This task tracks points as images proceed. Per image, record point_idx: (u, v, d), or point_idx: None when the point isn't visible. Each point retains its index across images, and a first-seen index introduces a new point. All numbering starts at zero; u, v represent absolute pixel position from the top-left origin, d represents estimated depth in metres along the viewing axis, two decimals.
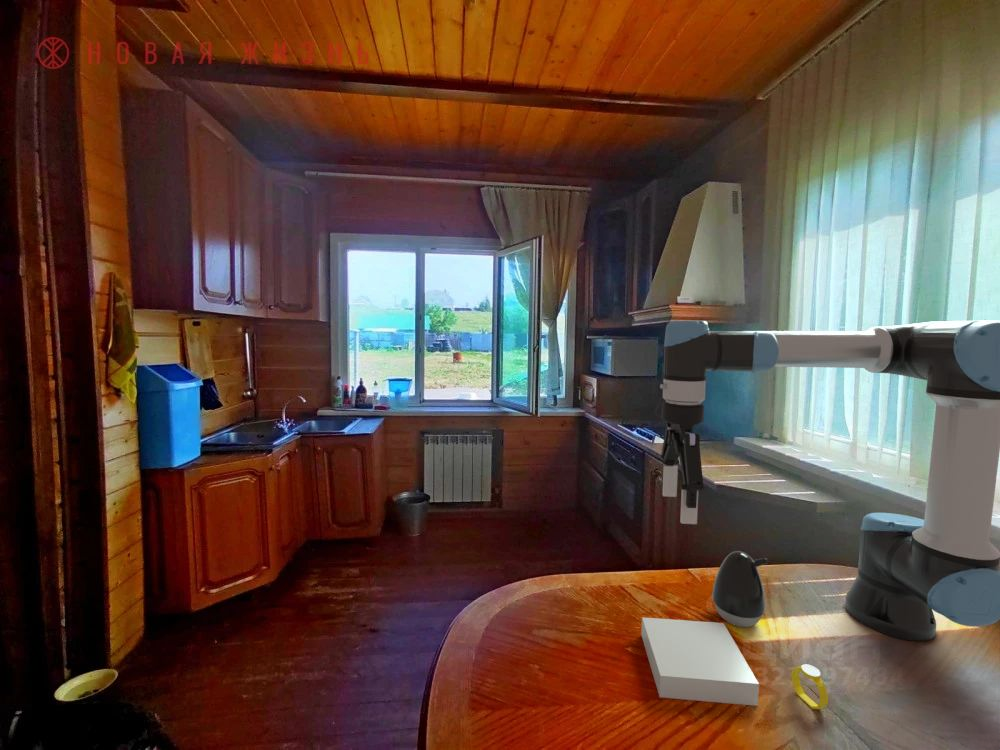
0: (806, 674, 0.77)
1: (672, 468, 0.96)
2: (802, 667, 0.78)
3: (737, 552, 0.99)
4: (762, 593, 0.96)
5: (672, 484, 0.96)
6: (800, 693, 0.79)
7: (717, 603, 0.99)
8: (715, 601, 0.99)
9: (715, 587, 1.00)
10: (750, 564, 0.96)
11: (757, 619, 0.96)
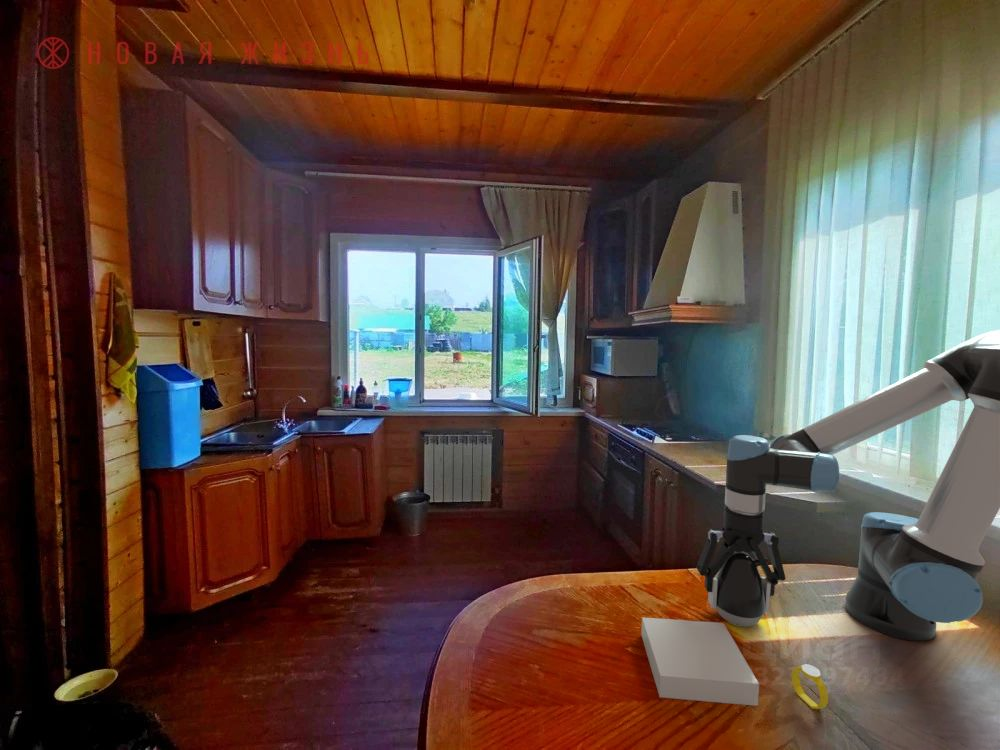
0: (806, 674, 0.77)
1: (764, 582, 0.98)
2: (802, 667, 0.78)
3: (737, 552, 0.99)
4: (762, 593, 0.96)
5: None
6: (800, 693, 0.79)
7: (717, 603, 0.99)
8: None
9: None
10: (750, 564, 0.96)
11: (757, 619, 0.96)
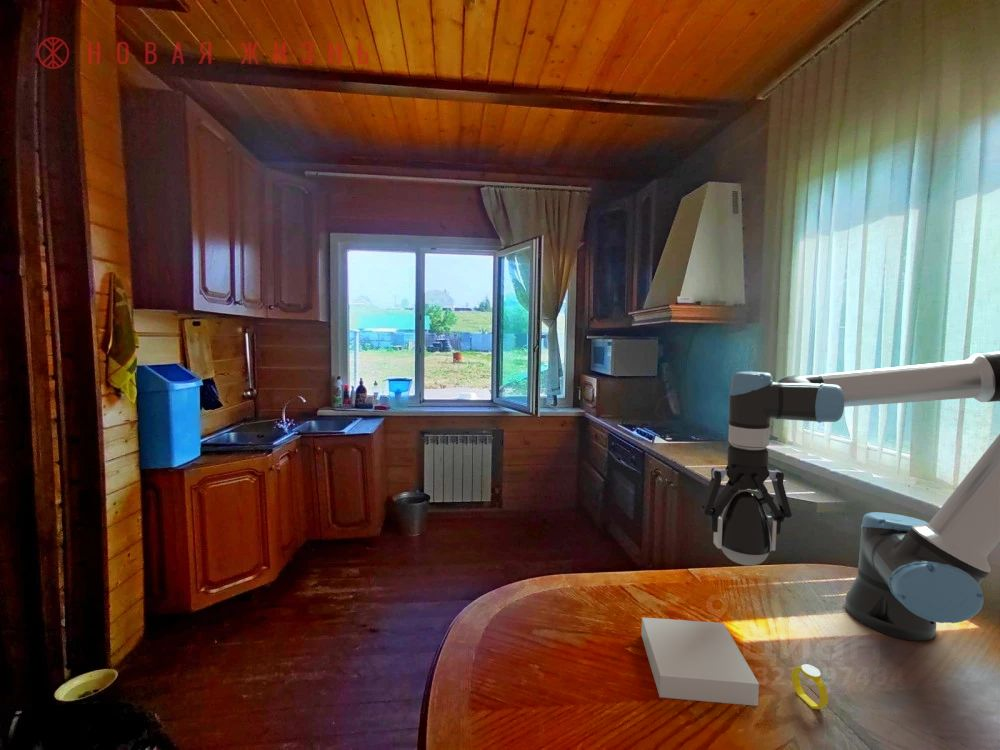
0: (806, 674, 0.77)
1: (770, 520, 0.97)
2: (802, 667, 0.78)
3: (742, 491, 0.97)
4: (768, 530, 0.94)
5: None
6: (800, 693, 0.79)
7: (723, 543, 0.97)
8: None
9: None
10: (755, 501, 0.95)
11: (764, 556, 0.94)
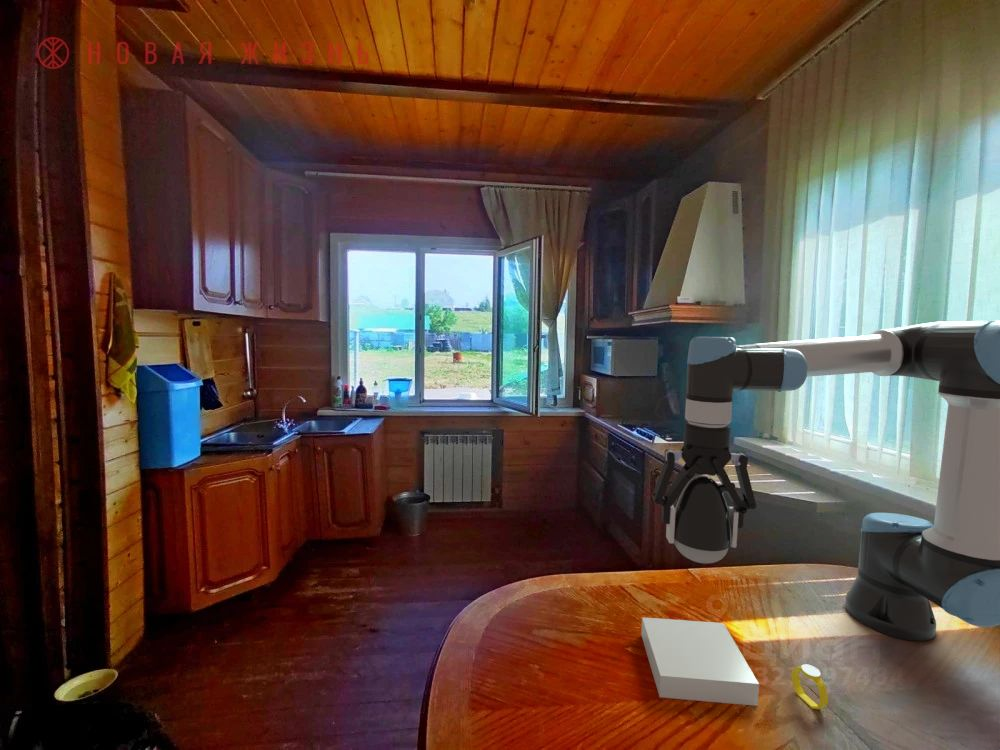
0: (806, 674, 0.77)
1: (731, 512, 0.83)
2: (802, 667, 0.78)
3: (699, 476, 0.83)
4: (728, 522, 0.80)
5: None
6: (800, 693, 0.79)
7: (675, 536, 0.83)
8: None
9: None
10: (713, 488, 0.81)
11: (721, 553, 0.80)
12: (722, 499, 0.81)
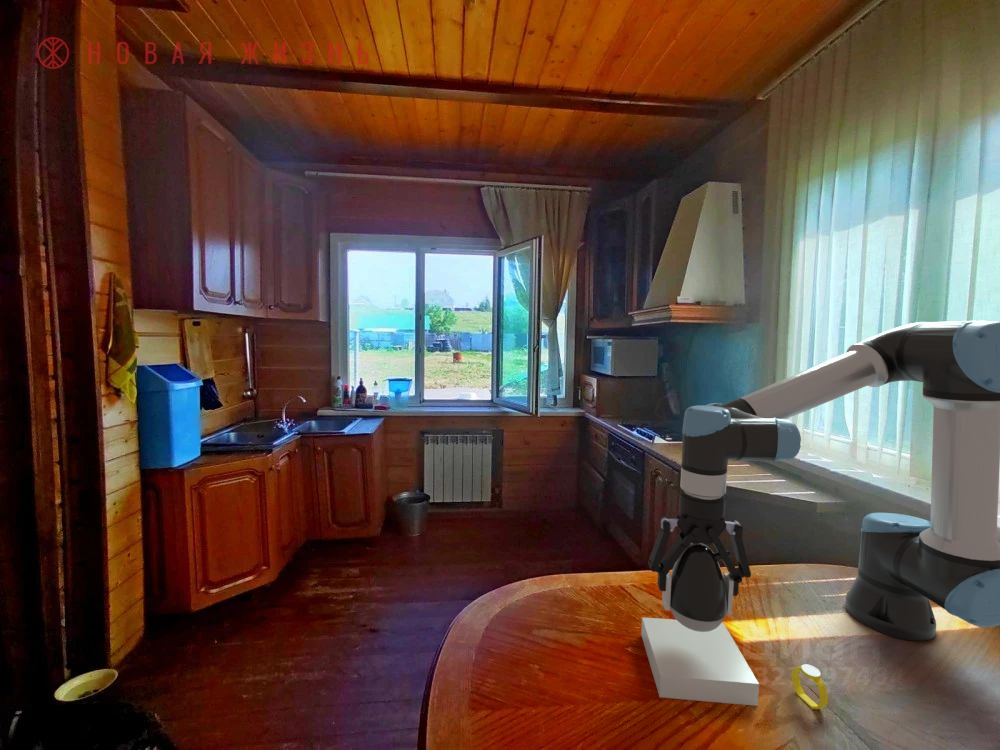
0: (806, 674, 0.77)
1: (727, 580, 0.83)
2: (802, 667, 0.78)
3: None
4: (723, 592, 0.81)
5: None
6: (800, 693, 0.79)
7: (671, 604, 0.84)
8: None
9: None
10: (709, 557, 0.81)
11: (717, 623, 0.81)
12: (717, 568, 0.81)
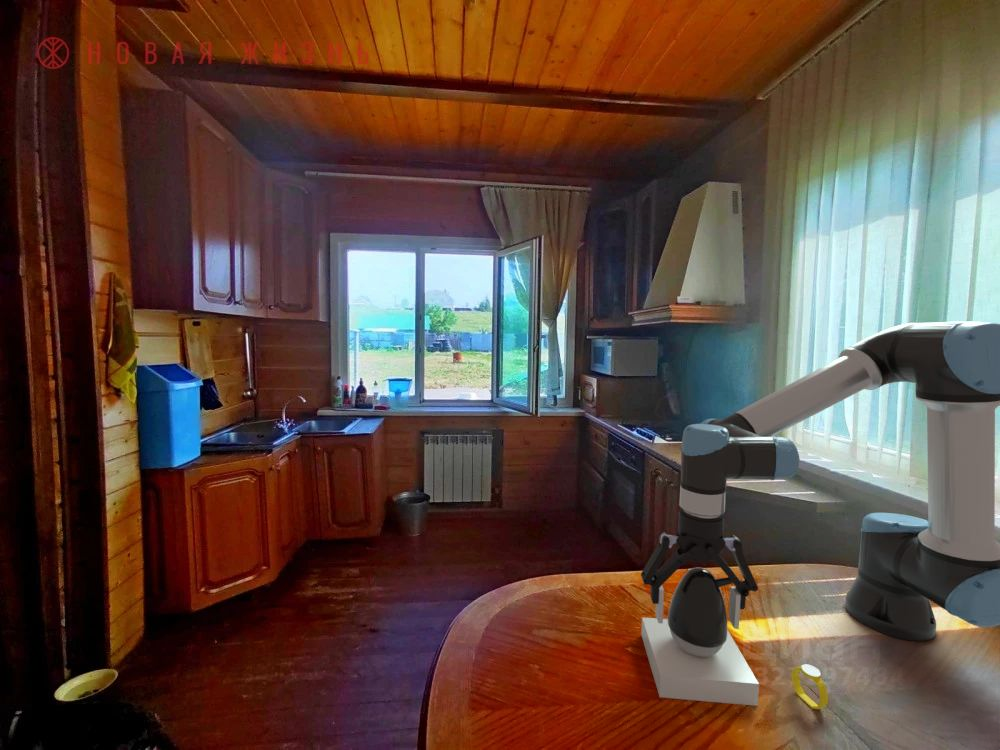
0: (806, 674, 0.77)
1: (733, 593, 0.83)
2: (802, 667, 0.78)
3: (698, 569, 0.84)
4: (724, 618, 0.81)
5: (733, 611, 0.84)
6: (800, 693, 0.79)
7: (671, 627, 0.84)
8: (670, 625, 0.85)
9: (671, 608, 0.85)
10: (711, 583, 0.82)
11: (717, 649, 0.81)
12: (719, 595, 0.82)
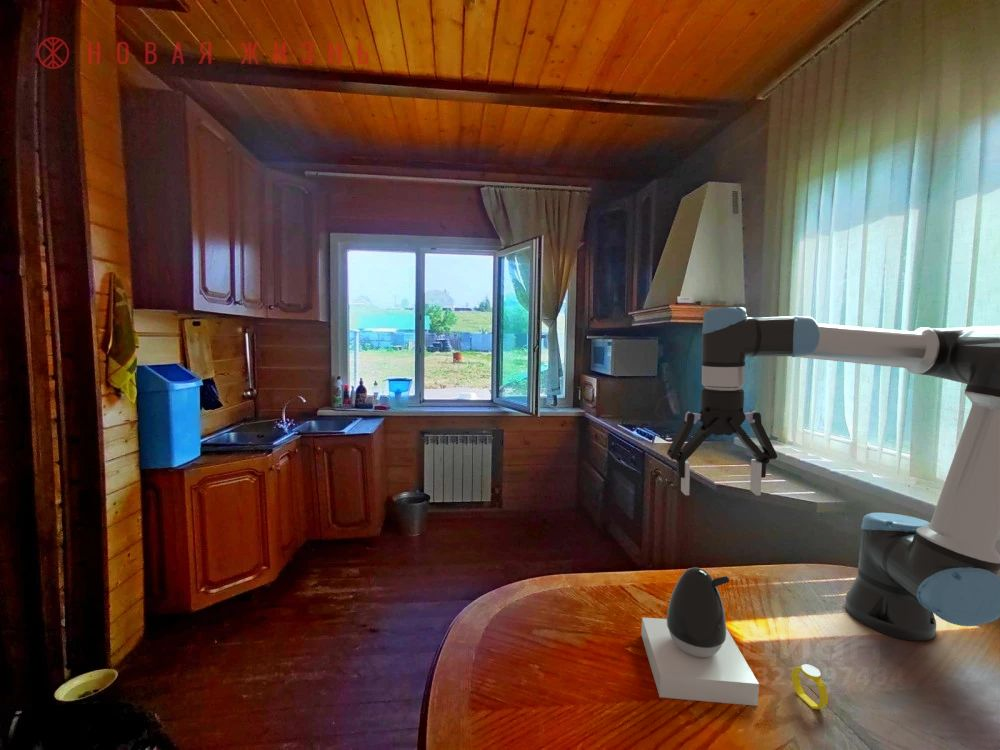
0: (806, 674, 0.77)
1: (755, 463, 0.90)
2: (802, 667, 0.78)
3: (694, 569, 0.84)
4: (722, 618, 0.81)
5: (754, 480, 0.90)
6: (800, 693, 0.79)
7: (670, 629, 0.84)
8: (668, 626, 0.85)
9: (669, 609, 0.85)
10: (708, 583, 0.82)
11: (716, 649, 0.81)
12: (716, 594, 0.82)
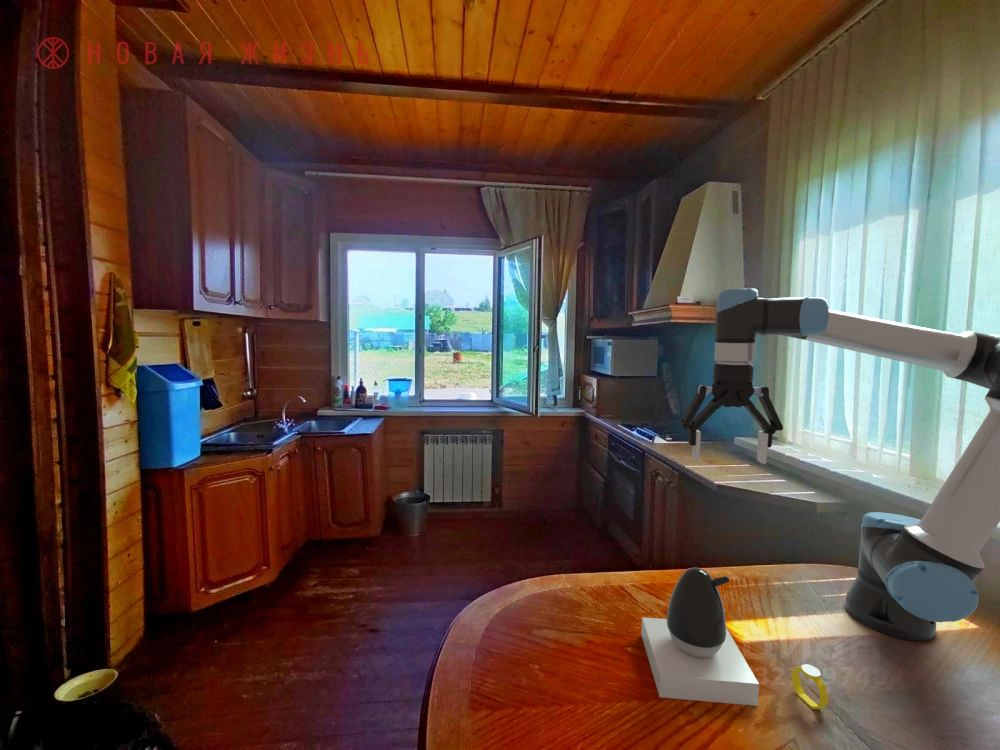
0: (806, 674, 0.77)
1: (762, 434, 0.97)
2: (802, 667, 0.78)
3: (694, 569, 0.84)
4: (722, 618, 0.81)
5: (761, 450, 0.97)
6: (800, 693, 0.79)
7: (670, 629, 0.84)
8: (668, 626, 0.85)
9: (669, 609, 0.85)
10: (708, 583, 0.82)
11: (716, 649, 0.81)
12: (716, 594, 0.82)
